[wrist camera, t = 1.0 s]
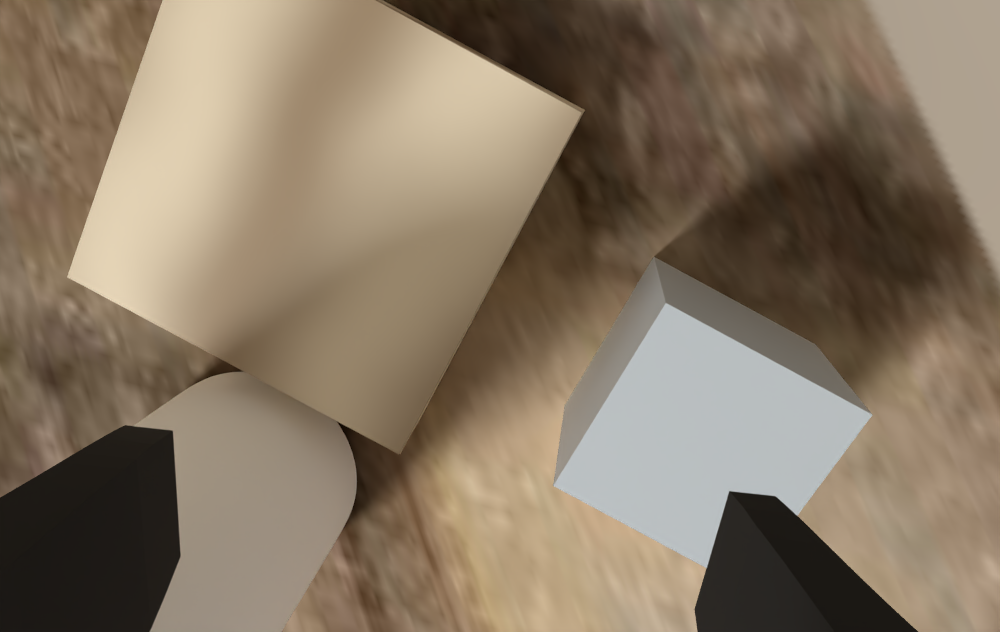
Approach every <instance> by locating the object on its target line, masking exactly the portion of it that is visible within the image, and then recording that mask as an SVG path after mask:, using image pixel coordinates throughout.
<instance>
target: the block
mask: <svg viewBox="0 0 1000 632" xmlns="http://www.w3.org/2000/svg"><path fill="white" fill-rule="evenodd" d="M871 416H872V414H871V412H870V411H869V410H868V409H867V407H866V406H865V405H864V404H863V402H862V401H861V400H860V399H859V398H858V396H857V395H856V394H855V393H854V391H853V390H852V389H851V388H850V386H849V385H848V384H847V383H846V381H845V380H844V379H843V378H842V376H841V375H840V374H839V373H838V372H837V370H836V369H835V368H834V367H833V365H832V364H831V363H830V362H829V360H828V359H827V358H826V357H825V355H824V354H823V353H822V352H821V350H820V349H819V348H818V347H817V346H816V344H814V343H812V342H810V341H809V340H807V339H805V338H803V337H801V336H799V335H797V334H796V333H794V332H792V331H790V330H788V329H786V328H785V327H783V326H781V325H779V324H777V323H775V322H773V321H772V320H770V319H768V318H766V317H764V316H762V315H761V314H759V313H757V312H755V311H753V310H751V309H750V308H748V307H746V306H744V305H742V304H740V303H738V302H737V301H735V300H733V299H731V298H729V297H727V296H726V295H724V294H722V293H720V292H718V291H716V290H714V289H713V288H711V287H709V286H707V285H705V284H703V283H702V282H700V281H698V280H696V279H694V278H692V277H690V276H689V275H687V274H685V273H683V272H681V271H679V270H678V269H676V268H674V267H672V266H670V265H668V264H667V263H665V262H663V261H661V260H659V259H657V258H655V257H653V259H652V260H651V262H650V264H649V265H648V267H647V269H646V270H645V272H644V274H643V275H642V277H641V279H640V280H639V282H638V284H637V285H636V287H635V289H634V290H633V292H632V294H631V295H630V297H629V299H628V300H627V302H626V304H625V305H624V307H623V309H622V310H621V312H620V314H619V315H618V317H617V319H616V321H615V322H614V324H613V326H612V327H611V329H610V331H609V332H608V334H607V336H606V337H605V339H604V341H603V342H602V344H601V346H600V347H599V349H598V351H597V352H596V354H595V356H594V357H593V359H592V361H591V362H590V364H589V366H588V367H587V369H586V371H585V372H584V374H583V376H582V377H581V379H580V381H579V382H578V384H577V386H576V387H575V389H574V391H573V392H572V394H571V396H570V397H569V399H568V401H567V402H566V404H565V407H564V414H563V421H562V428H561V435H560V442H559V449H558V456H557V463H556V470H555V477H554V484H553V486H555V487H556V488H558V489H560V490H562V491H564V492H566V493H568V494H569V495H571V496H573V497H575V498H577V499H579V500H581V501H583V502H584V503H586V504H588V505H590V506H592V507H594V508H596V509H597V510H599V511H601V512H603V513H605V514H607V515H609V516H610V517H612V518H614V519H616V520H618V521H620V522H622V523H623V524H625V525H627V526H629V527H631V528H633V529H635V530H637V531H638V532H640V533H642V534H644V535H646V536H648V537H650V538H651V539H653V540H655V541H657V542H659V543H661V544H663V545H664V546H666V547H668V548H670V549H672V550H674V551H676V552H678V553H679V554H681V555H683V556H685V557H687V558H689V559H691V560H692V561H694V562H696V563H698V564H700V565H702V566H704V567H705V568H707V565H708V562H709V559H710V555H711V552H712V548H713V545H714V542H715V538H716V535H717V531H718V528H719V524H720V521H721V518H722V514H723V511H724V507H725V504H726V501H727V497H728V494H729V491H733V492H742V493H752V494H761V495H770V496H776V497H777V498H778V499H779V500H780V501H782V502H783V503H784V504H785V505H786V506H787V507H788V508H789V509H790V510H791V511H793V512H794V513H795V514H796V515H798V514H799V513H800V511H801V510H802V509H803V507H804V506H805V505H806V503H807V502H808V501H809V499H810V498H811V496H812V495H813V494H814V492H815V491H816V490H817V488H818V487H819V486H820V484H821V483H822V482H823V480H824V479H825V478H826V476H827V475H828V474H829V472H830V471H831V470H832V468H833V467H834V466H835V464H836V463H837V462H838V460H839V459H840V458H841V456H842V455H843V454H844V452H845V451H846V449H847V448H848V447H849V445H850V444H851V443H852V441H853V440H854V439H855V437H856V436H857V435H858V433H859V432H860V431H861V429H862V428H863V427H864V425H865V424H866V423H867V421H868V420H869V419H870V417H871Z"/></svg>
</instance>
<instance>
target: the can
mask: <svg viewBox="0 0 1000 632" xmlns="http://www.w3.org/2000/svg"><path fill="white" fill-rule="evenodd" d="M134 426H136V427H145V428H154V429H163V430H172V431H173V439H174V455H175V472H176V488H177V504H178V520H179V536H180V553H181V557H180V559H179V562H178V564H177V567H176V569H175V572H174V575H173V577H172V580H171V582H170V585H169V587H168V590H167V592H166V595H165V597H164V600H163V602H162V604H161V607H160V609H159V611H158V614H157V616H156V618H155V621H154V623H153V626H152V628H151V630H150V632H282V630H283V628H284V627H285V625H286V623H287V622H288V620H289V618H290V617H291V615H292V613H293V612H294V610H295V608H296V607H297V605H298V603H299V602H300V600H301V598H302V597H303V595H304V593H305V592H306V590H307V589H308V587H309V585H310V584H311V582H312V580H313V578H314V577H315V575H316V573H317V572H318V570H319V568H320V567H321V565H322V563H323V562H324V560H325V558H326V557H327V555H328V553H329V552H330V550H331V548H332V547H333V545H334V543H335V541H336V540H337V538H338V536H339V535H340V533H341V531H342V529H343V527H344V526H345V524H346V522H347V520H348V518H349V515H350V513H351V511H352V508H353V505H354V501H355V496H356V488H357V474H356V466H355V461H354V457H353V453H352V450H351V447H350V445H349V443H348V440H347V438H346V436H345V434H344V432H343V431H342V429H341V427H340V426H339V424H338V423H337V421H336V420H334V419H332V418H330V417H328V416H326V415H324V414H322V413H321V412H319V411H317V410H315V409H313V408H311V407H309V406H308V405H306V404H304V403H302V402H300V401H298V400H296V399H294V398H293V397H291V396H289V395H287V394H285V393H283V392H281V391H279V390H278V389H276V388H274V387H272V386H270V385H268V384H266V383H264V382H263V381H261V380H259V379H257V378H255V377H253V376H251V375H250V374H248V373H246V372H230V373H223V374H219V375H215V376H212V377H209V378H207V379H204V380H202V381H200V382H198V383H196V384H194V385H193V386H191V387H189V388H188V389H186V390H185V391H183V392H182V393H180V394H179V395H177V396H176V397H174V398H173V399H171V400H170V401H168V402H167V403H165V404H164V405H163V406H161V407H160V408H158V409H157V410H155V411H154V412H152V413H151V414H150V415H148V416H147V417H145V418H144V419H142V420H141V421H140V422H138V423H137V424H135V425H134Z"/></svg>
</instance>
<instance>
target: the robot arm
mask: <svg viewBox="0 0 1000 632" xmlns="http://www.w3.org/2000/svg"><path fill="white" fill-rule="evenodd" d="M180 557H181V553H180V536H179V520H178V504H177V488H176V472H175V455H174V439H173V431H172V430H163V429H154V428H145V427H136V426H126V425H125V426H123V427H121V428H119V429H117V430H115V431H113V432H111V433H109V434H108V435H106V436H104V437H102V438H101V439H99V440H97V441H95V442H94V443H92V444H90V445H89V446H87V447H85V448H83V449H82V450H80V451H78V452H77V453H75V454H73V455H72V456H70V457H68V458H67V459H65V460H63V461H62V462H60V463H58V464H57V465H55V466H53V467H52V468H50V469H48V470H47V471H45V472H43V473H42V474H40V475H38V476H37V477H35V478H33V479H31V480H30V481H28V482H26V483H25V484H23V485H21V486H19V487H18V488H16V489H14V490H13V491H11V492H9V493H7V494H6V495H4V496H2V497H1V498H0V632H150V630H151V628H152V626H153V623H154V621H155V618H156V616H157V614H158V611H159V609H160V607H161V604H162V602H163V600H164V597H165V595H166V592H167V590H168V587H169V585H170V582H171V580H172V577H173V575H174V572H175V569H176V567H177V564H178V562H179V559H180ZM695 615H696V623H697V630H698V632H918V631H917V630H916V629H915V628H913V627H912V626H911V625H910V624H909V623H908V622H907V621H906V620H905V619H904V618H902V617H901V616H900V615H899V614H898V613H897V612H896V611H895V610H894V609H893V608H892V607H891V606H890V605H889V604H887V603H886V602H885V601H884V600H883V599H882V598H881V597H880V596H879V595H878V594H877V593H876V592H875V591H874V590H873V589H872V588H871V587H870V586H869V585H868V584H866V583H865V582H864V581H863V580H862V579H861V578H860V577H859V576H858V575H857V574H856V573H855V572H854V571H853V570H852V569H851V568H850V567H849V566H848V565H847V564H846V563H845V562H844V561H843V560H842V559H841V558H840V557H839V556H838V555H837V554H836V553H835V552H834V551H833V550H832V549H831V548H830V547H829V546H828V545H827V544H826V543H825V542H824V541H822V540H821V539H820V538H819V537H818V536H817V535H816V534H815V533H814V532H813V531H812V530H811V529H810V528H809V527H808V526H807V525H806V524H805V523H804V522H803V521H802V520H801V519H800V518H799V517H798V516H797V515H796V514H795V513H794V512H793V511H791V510H790V509H789V508H788V507H787V506H786V505H785V504H784V503H783V502H782V501H780V500H779V499H778V498H777V497H776V496H770V495H761V494H752V493H742V492H733V491H729V494H728V497H727V501H726V504H725V507H724V511H723V514H722V518H721V521H720V524H719V528H718V531H717V535H716V538H715V542H714V545H713V548H712V552H711V555H710V559H709V562H708V565H707V569H706V572H705V576H704V579H703V583H702V586H701V589H700V593H699V596H698V600H697V603H696V606H695Z"/></svg>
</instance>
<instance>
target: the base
mask: <svg viewBox="0 0 1000 632" xmlns="http://www.w3.org/2000/svg"><path fill="white" fill-rule="evenodd" d="M584 111H585V110H584V109H582V108H580V107H578V106H577V105H575V104H573V103H571V102H569V101H567V100H566V99H564V98H562V97H560V96H558V95H556V94H555V93H553V92H551V91H549V90H547V89H545V88H544V87H542V86H540V85H538V84H536V83H534V82H532V81H531V80H529V79H527V78H525V77H523V76H521V75H520V74H518V73H516V72H514V71H512V70H510V69H509V68H507V67H505V66H503V65H501V64H499V63H498V62H496V61H494V60H492V59H490V58H488V57H487V56H485V55H483V54H481V53H479V52H477V51H476V50H474V49H472V48H470V47H468V46H466V45H464V44H463V43H461V42H459V41H457V40H455V39H453V38H452V37H450V36H448V35H446V34H444V33H442V32H441V31H439V30H437V29H435V28H433V27H431V26H430V25H428V24H426V23H424V22H422V21H420V20H419V19H417V18H415V17H413V16H411V15H409V14H407V13H406V12H404V11H402V10H400V9H398V8H396V7H395V6H393V5H391V4H389V3H387V2H385V1H384V0H163V1H162V4H161V7H160V10H159V13H158V16H157V19H156V22H155V24H154V27H153V30H152V33H151V36H150V39H149V42H148V45H147V48H146V50H145V53H144V56H143V59H142V62H141V65H140V68H139V71H138V74H137V77H136V79H135V82H134V85H133V88H132V91H131V94H130V97H129V100H128V103H127V105H126V108H125V111H124V114H123V117H122V120H121V123H120V126H119V129H118V132H117V134H116V137H115V140H114V143H113V146H112V149H111V152H110V155H109V158H108V160H107V163H106V166H105V169H104V172H103V175H102V178H101V181H100V184H99V186H98V189H97V192H96V195H95V198H94V201H93V204H92V207H91V210H90V213H89V215H88V218H87V221H86V224H85V227H84V230H83V233H82V236H81V239H80V241H79V244H78V247H77V250H76V253H75V256H74V259H73V262H72V265H71V268H70V270H69V273H68V276H67V277H68V278H70V279H72V280H74V281H76V282H77V283H79V284H81V285H83V286H85V287H87V288H89V289H91V290H92V291H94V292H96V293H98V294H100V295H102V296H104V297H106V298H107V299H109V300H111V301H113V302H115V303H117V304H119V305H120V306H122V307H124V308H126V309H128V310H130V311H132V312H134V313H135V314H137V315H139V316H141V317H143V318H145V319H147V320H149V321H150V322H152V323H154V324H156V325H158V326H160V327H162V328H163V329H165V330H167V331H169V332H171V333H173V334H175V335H177V336H178V337H180V338H182V339H184V340H186V341H188V342H190V343H192V344H193V345H195V346H197V347H199V348H201V349H203V350H205V351H207V352H208V353H210V354H212V355H214V356H216V357H218V358H220V359H221V360H223V361H225V362H227V363H229V364H231V365H233V366H235V367H236V368H238V369H240V370H242V371H244V372H246V373H248V374H250V375H251V376H253V377H255V378H257V379H259V380H261V381H263V382H264V383H266V384H268V385H270V386H272V387H274V388H276V389H278V390H279V391H281V392H283V393H285V394H287V395H289V396H291V397H293V398H294V399H296V400H298V401H300V402H302V403H304V404H306V405H308V406H309V407H311V408H313V409H315V410H317V411H319V412H321V413H322V414H324V415H326V416H328V417H330V418H332V419H334V420H336V421H337V422H339V423H341V424H343V425H345V426H347V427H349V428H351V429H352V430H354V431H356V432H358V433H360V434H362V435H364V436H365V437H367V438H369V439H371V440H373V441H375V442H377V443H379V444H380V445H382V446H384V447H386V448H388V449H390V450H392V451H394V452H395V453H397V454H399V455H400V453H401V452H402V450H403V448H404V446H405V445H406V443H407V441H408V439H409V438H410V436H411V434H412V432H413V431H414V429H415V427H416V425H417V424H418V422H419V420H420V418H421V416H422V415H423V413H424V411H425V409H426V407H427V405H428V403H429V401H430V400H431V398H432V396H433V394H434V392H435V390H436V388H437V386H438V385H439V383H440V381H441V379H442V377H443V375H444V373H445V371H446V370H447V368H448V366H449V364H450V362H451V360H452V358H453V356H454V355H455V353H456V351H457V349H458V347H459V345H460V343H461V341H462V340H463V338H464V336H465V334H466V332H467V330H468V328H469V326H470V325H471V323H472V321H473V319H474V317H475V315H476V313H477V312H478V310H479V308H480V306H481V304H482V302H483V300H484V298H485V297H486V295H487V293H488V291H489V289H490V287H491V285H492V283H493V282H494V280H495V278H496V276H497V274H498V272H499V270H500V268H501V267H502V265H503V263H504V261H505V259H506V257H507V255H508V253H509V252H510V250H511V248H512V246H513V244H514V242H515V240H516V238H517V237H518V235H519V233H520V231H521V229H522V227H523V225H524V223H525V222H526V220H527V218H528V216H529V214H530V212H531V210H532V208H533V207H534V205H535V203H536V201H537V199H538V197H539V195H540V193H541V192H542V190H543V188H544V186H545V184H546V182H547V180H548V178H549V177H550V175H551V173H552V171H553V169H554V167H555V165H556V163H557V162H558V160H559V158H560V156H561V154H562V152H563V150H564V148H565V147H566V145H567V143H568V141H569V139H570V137H571V135H572V133H573V132H574V130H575V128H576V126H577V124H578V122H579V120H580V118H581V117H582V115H583V113H584Z"/></svg>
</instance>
